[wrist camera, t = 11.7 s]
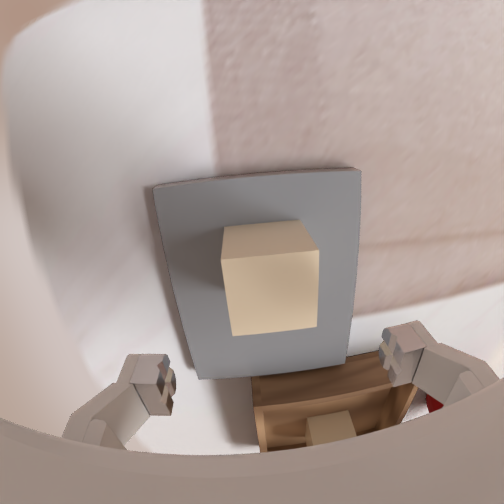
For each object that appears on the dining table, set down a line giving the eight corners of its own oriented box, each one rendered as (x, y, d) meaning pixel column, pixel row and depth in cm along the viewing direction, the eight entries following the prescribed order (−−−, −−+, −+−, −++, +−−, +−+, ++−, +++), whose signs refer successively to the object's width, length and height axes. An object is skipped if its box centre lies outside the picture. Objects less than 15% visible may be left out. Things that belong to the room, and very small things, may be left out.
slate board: (157, 185, 15) (152, 188, 14) (354, 167, 15) (361, 170, 14) (199, 370, 21) (198, 379, 20) (341, 354, 21) (344, 363, 20)
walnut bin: (250, 370, 21) (253, 407, 18) (406, 344, 21) (425, 372, 18) (261, 446, 27) (263, 473, 23) (376, 425, 27) (385, 449, 24)
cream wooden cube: (224, 226, 15) (220, 259, 12) (299, 219, 15) (319, 250, 12) (232, 291, 17) (232, 336, 13) (301, 284, 17) (316, 326, 13)
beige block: (307, 417, 24) (314, 452, 20) (348, 409, 24) (359, 443, 20) (304, 436, 25) (311, 468, 22) (342, 429, 25) (351, 460, 22)
